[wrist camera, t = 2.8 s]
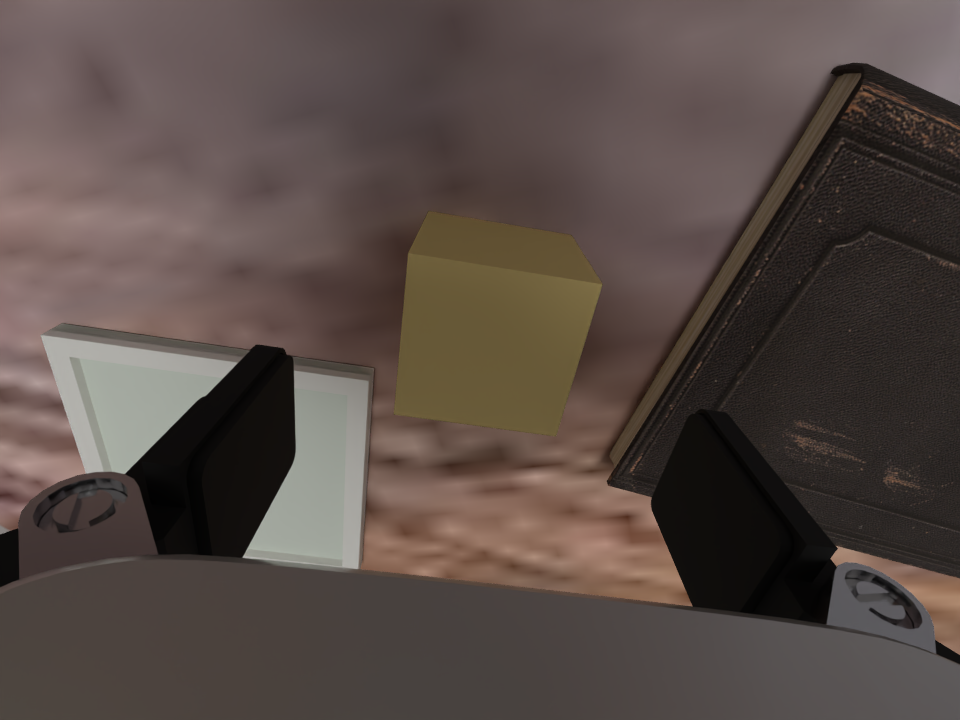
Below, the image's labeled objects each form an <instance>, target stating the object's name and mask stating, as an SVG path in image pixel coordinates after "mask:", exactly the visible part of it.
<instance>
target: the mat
mask: <svg viewBox="0 0 960 720" xmlns="http://www.w3.org/2000/svg"><path fill="white" fill-rule="evenodd" d="M41 338H42V341H43V344H44V347H45V350H46V353H47V356H48V359H49V362H50V365H51V368H52V371H53V374H54V377H55V380H56V383H57V386H58V389H59V392H60V396H61V399H62V402H63V405H64V408H65V411H66V414H67V417H68V420H69V423H70V426H71V429H72V432H73V435H74V438H75V441H76V444H77V447H78V450H79V453H80V456H81V459H82V462H83V465H84V468H85V471H86V474H88V473H93V472H116V473H122V474H125V473H126V472H127V471H128V470H129V469H130V468H131V467H132V466H133V465H134V464H135V463H136V462H137V461H138V460H139V459H140V458H141V457H142V456H143V455H144V454H145V453H146V452H147V451H148V450H149V449H150V448H151V447H152V446H153V445H154V444H155V443H156V442H157V441H158V440H159V439H160V438H161V437H162V436H163V435H164V434H165V433H166V432H167V431H168V430H169V429H170V428H171V427H172V426H173V425H174V424H175V423H176V422H177V421H178V420H179V419H180V418H181V417H182V416H183V415H184V414H185V413H186V412H187V411H188V409H189V408H190V407H191V406H192V405H193V404H194V403H195V402H196V401H197V400H199V399H200V398H201V397H204V396H206V395H207V394H208V393H209V392H210V391H211V390H212V389H213V388H214V387H215V386H216V385H217V384H218V383H219V382H220V381H221V380H222V379H223V378H224V377H225V376H226V375H227V374H228V373H229V372H230V371H231V370H232V369H233V367H234V366H235V365H236V364H237V363H238V362H239V361H240V360H241V359H242V358H243V357H244V356H245V355H246V354H247V353H248V352H249V351H250V350H244V349H237V348H230V347H223V346H216V345H209V344H202V343H195V342H188V341H181V340H174V339H167V338H160V337H153V336H146V335H139V334H132V333H125V332H118V331H111V330H105V329H98V328H91V327H84V326H77V325H70V324H63V323H62V324H60V325H58V326H56V327H54V328H52V329H51V330H49V331H47V332H45V333H43V334H41ZM292 357H293V356H292ZM293 361H294V395H295V435H296V453H295V458H294V462H293V465H292V467H291V469H290V470H289V472H288V474H287V476H286V478H285V480H284V482H283V483H282V485H281V487H280V489H279V491H278V493H277V495H276V496H275V498H274V500H273V502H272V504H271V506H270V508H269V509H268V511H267V513H266V515H265V517H264V519H263V521H262V522H261V524H260V526H259V528H258V530H257V532H256V534H255V535H254V537H253V539H252V541H251V543H250V545H249V547H248V548H247V550H246V552H245V554H244V556H243V558H250V559H263V560H274V561H284V562H294V563H304V564H315V565H325V566H334V567H344V568H353V569H360V568H361V564H362V557H363V540H364V524H365V508H366V492H367V475H368V459H369V443H370V426H371V410H372V394H373V378H374V368H370V367H363V366H356V365H349V364H342V363H335V362H328V361H321V360H314V359H307V358H300V357H293Z"/></svg>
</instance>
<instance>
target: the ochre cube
mask: <svg viewBox="0 0 960 720" xmlns="http://www.w3.org/2000/svg"><path fill="white" fill-rule="evenodd" d="M602 285H603V284H602V283H601V281H600V279H599V278H598V276H597V275H596V273H595V271H594V270H593V268H592V267H591V265H590V264H589V262H588V260H587V259H586V257H585V256H584V254H583V252H582V251H581V249H580V248H579V246H578V245H577V243H576V241H575V240H574V238H573V237H572V235H569V234H563V233H557V232H551V231H545V230H539V229H533V228H527V227H521V226H515V225H509V224H503V223H497V222H491V221H485V220H479V219H473V218H467V217H461V216H456V215H450V214H444V213H438V212H432V211H428V213H427V215H426V217H425V219H424V221H423V223H422V226H421V228H420V230H419V232H418V234H417V236H416V238H415V240H414V242H413V244H412V246H411V248H410V250H409V252H408V261H407V272H406V283H405V294H404V305H403V317H402V328H401V339H400V350H399V361H398V372H397V384H396V395H395V406H394V415H401V416H408V417H416V418H423V419H431V420H438V421H445V422H453V423H460V424H467V425H475V426H482V427H490V428H497V429H504V430H512V431H519V432H526V433H534V434H541V435H549V436H556V435H557V432H558V428H559V425H560V422H561V418H562V415H563V412H564V409H565V405H566V402H567V399H568V396H569V392H570V389H571V386H572V383H573V379H574V376H575V373H576V370H577V366H578V363H579V360H580V357H581V353H582V350H583V347H584V344H585V340H586V337H587V334H588V331H589V327H590V324H591V321H592V317H593V314H594V311H595V308H596V304H597V301H598V298H599V295H600V291H601V288H602Z"/></svg>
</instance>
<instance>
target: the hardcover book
mask: <svg viewBox="0 0 960 720" xmlns="http://www.w3.org/2000/svg"><path fill="white" fill-rule="evenodd" d="M831 74H833V75H836V76H838V78H837V80H836V81H835V83H834V85H833V86H832V88H831V90H830V91H829V93H828V95H827V96H826V98H825V100H824V101H823V103H822V104H821V106H820V108H819V109H818V111H817V113H816V114H815V116H814V118H813V119H812V121H811V123H810V124H809V126H808V128H807V129H806V131H805V132H804V134H803V136H802V137H801V139H800V141H799V142H798V144H797V146H796V147H795V149H794V151H793V152H792V154H791V155H790V157H789V159H788V160H787V162H786V164H785V165H784V167H783V169H782V170H781V172H780V174H779V175H778V177H777V179H776V180H775V182H774V183H773V185H772V187H771V188H770V190H769V192H768V193H767V195H766V197H765V198H764V200H763V202H762V203H761V205H760V206H759V208H758V210H757V211H756V213H755V215H754V216H753V218H752V220H751V221H750V223H749V225H748V226H747V228H746V230H745V231H744V233H743V234H742V236H741V238H740V239H739V241H738V243H737V244H736V246H735V248H734V249H733V251H732V253H731V254H730V256H729V257H728V259H727V261H726V262H725V264H724V266H723V267H722V269H721V271H720V272H719V274H718V276H717V277H716V279H715V281H714V282H713V284H712V285H711V287H710V289H709V290H708V292H707V294H706V295H705V297H704V299H703V300H702V302H701V304H700V305H699V307H698V308H697V310H696V312H695V313H694V315H693V317H692V318H691V320H690V322H689V323H688V325H687V327H686V328H685V330H684V332H683V333H682V335H681V336H680V338H679V340H678V341H677V343H676V345H675V346H674V348H673V350H672V351H671V353H670V355H669V356H668V358H667V360H666V361H665V363H664V364H663V366H662V368H661V369H660V371H659V373H658V374H657V376H656V378H655V379H654V381H653V383H652V384H651V386H650V388H649V389H648V391H647V393H646V394H645V396H644V397H643V399H642V401H641V402H640V404H639V406H638V407H637V409H636V411H635V412H634V414H633V416H632V417H631V419H630V421H629V422H628V424H627V425H626V427H625V429H624V430H623V432H622V434H621V435H620V437H619V439H618V440H617V442H616V444H615V445H614V447H613V449H612V450H611V452H610V458H611V460H612V462H613V464H614V470H613V472H612V474H611V475H610V477H609V478H608V480H607V483H608V486H612V487H616V488H619V489H623V490H627V491H631V492H635V493H638V494H642V495H646V496H650V497H652V496H653V493H654V491H655V489H656V487H657V484H658V482H659V480H660V478H661V475H662V473H663V471H664V469H665V466H666V464H667V462H668V460H669V458H670V455H671V453H672V451H673V449H674V446H675V444H676V442H677V440H678V437H679V435H680V433H681V431H682V428H683V426H684V424H685V422H686V420H687V418H688V416H689V415H690V414H695V413H696V411H698V410H699V409H707V410H714V411H721V412H726V413H727V414H728V415H729V416H730V417H731V418H732V419H733V421H734V422H735V423H736V424H737V426H738V427H739V428H740V429H741V431H742V432H743V433H744V434H745V435H746V437H747V438H748V439H749V440H750V442H751V443H752V444H753V445H754V446H755V448H756V449H757V450H758V451H759V453H760V454H761V455H762V456H763V458H764V459H765V460H766V461H767V462H768V464H769V465H770V466H771V467H772V469H773V470H774V471H775V472H776V473H777V475H778V476H779V477H780V478H781V480H782V481H783V482H784V483H785V485H786V486H787V487H788V488H789V489H790V491H791V492H792V493H793V494H794V496H795V497H796V498H797V499H798V500H799V502H800V503H801V504H802V505H803V507H804V508H805V509H806V510H807V512H808V513H809V514H810V515H811V516H812V518H813V519H814V520H815V521H816V523H817V524H818V525H819V526H820V527H821V529H822V530H823V531H824V532H825V534H826V535H827V536H828V537H829V539H830V540H831V541H832V542H833V543H834V545H835V546H839V547H843V548H847V549H851V550H854V551H858V552H862V553H866V554H870V555H873V556H877V557H881V558H885V559H889V560H892V561H896V562H900V563H904V564H907V565H911V566H915V567H919V568H923V569H926V570H930V571H934V572H938V573H942V574H945V575H949V576H953V577H957V578H960V106H959V105H957V104H955V103H952V102H950V101H948V100H946V99H944V98H941V97H939V96H937V95H935V94H933V93H930V92H928V91H926V90H924V89H922V88H919V87H917V86H915V85H913V84H910V83H908V82H906V81H904V80H902V79H899V78H897V77H895V76H893V75H891V74H888V73H886V72H884V71H882V70H880V69H877V68H875V67H873V66H871V65H869V64H863V63H850V64H846V65H841V66H838V67H836V68H834V69H833V70H832V72H831Z"/></svg>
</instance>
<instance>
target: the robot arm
mask: <svg viewBox="0 0 960 720" xmlns="http://www.w3.org/2000/svg"><path fill="white" fill-rule="evenodd" d="M295 453H296V435H295V395H294V361H293V357H292V356H289V355H286V352H285V350H284V349H283V348H278V347H271V346H264V345H255V346H254V347H253V348H252V349H251V350H250V351H249V352H248V353H247V354H246V355H245V356H244V357H243V358H242V359H241V360H240V361H239V362H238V363H237V364H236V365H235V366H234V367H233V369H232V370H231V371H230V372H229V373H228V374H227V375H226V376H225V377H224V378H223V379H222V380H221V381H220V382H219V383H218V384H217V385H216V386H215V387H214V388H213V389H212V390H211V391H210V392H209V393H208V394H207V395H206V396H204V397H201V398H200V399H199V400H197V401H196V402H195V403H194V404H193V405H192V406H191V407H190V408H189V409H188V411H187V412H186V413H185V414H184V415H183V416H182V417H181V418H180V419H179V420H178V421H177V422H176V423H175V424H174V425H173V426H172V427H171V428H170V429H169V430H168V431H167V432H166V433H165V434H164V435H163V436H162V437H161V438H160V439H159V440H158V441H157V442H156V443H155V444H154V445H153V446H152V447H151V448H150V449H149V450H148V451H147V452H146V453H145V454H144V455H143V456H142V457H141V458H140V459H139V460H138V461H137V462H136V463H135V464H134V465H133V466H132V467H131V468H130V469H129V470H128V471H127V472H126V473H125V474H122V473H116V472H93V473H88V474H82V475H77V476H75V477H72V478H69V479H66V480H63V481H60V482H58V483H56V484H54V485H52V486H51V487H49V488H47V489H45V490H43V491H42V492H41V493H39V494H38V495H37V496H35V497H34V498H33V499H31V500H30V501H29V503H28V504H27V505H26V506H25V508H24V509H23V510H22V511H21V515H20V518H19V522H18V529H15V530H12V531H9V532H6V533H4V534H0V720H960V655H959V654H957V653H955V652H954V651H952V650H951V649H949V648H947V647H946V646H944V645H942V644H941V643H939V642H938V641H936V640H935V635H934V626H933V623H932V620H931V617H930V615H929V613H928V612H927V611H926V609H925V608H924V606H923V605H922V604H921V603H920V602H919V601H918V600H917V598H916V597H915V596H914V595H913V594H912V593H911V592H909V591H908V590H907V589H906V588H904V587H903V586H902V585H901V584H899V583H898V582H897V581H895V580H893V579H892V578H890V577H888V576H887V575H885V574H884V573H882V572H880V571H877V570H875V569H873V568H871V567H869V566H865V565H862V564H858V563H848V562H845V563H843V564H840V565H838V566H837V567H836V565H835V564H834V563H833V562H832V560H831V559H830V558H831V557H832V555H833V554H834V553H835V551H836V550H837V549H838V548H837V547H836V546H835V545H834V543H833V542H832V541H831V540H830V539H829V537H828V536H827V535H826V534H825V532H824V531H823V530H822V529H821V527H820V526H819V525H818V524H817V523H816V521H815V520H814V519H813V518H812V516H811V515H810V514H809V513H808V512H807V510H806V509H805V508H804V507H803V505H802V504H801V503H800V502H799V500H798V499H797V498H796V497H795V496H794V494H793V493H792V492H791V491H790V489H789V488H788V487H787V486H786V485H785V483H784V482H783V481H782V480H781V478H780V477H779V476H778V475H777V473H776V472H775V471H774V470H773V469H772V467H771V466H770V465H769V464H768V462H767V461H766V460H765V459H764V458H763V456H762V455H761V454H760V453H759V451H758V450H757V449H756V448H755V446H754V445H753V444H752V443H751V442H750V440H749V439H748V438H747V437H746V435H745V434H744V433H743V432H742V431H741V429H740V428H739V427H738V426H737V424H736V423H735V422H734V421H733V419H732V418H731V417H730V416H729V415H728V414H727V413H726V412H721V411H714V410H707V409H699V410H698V411H696V413H695V414H690V415H689V416H688V418H687V420H686V422H685V424H684V426H683V428H682V431H681V433H680V435H679V437H678V440H677V442H676V444H675V446H674V449H673V451H672V453H671V455H670V458H669V460H668V462H667V464H666V466H665V469H664V471H663V473H662V475H661V478H660V480H659V482H658V484H657V487H656V489H655V491H654V493H653V496H652V500H651V507H652V512H653V514H654V516H655V519H656V521H657V523H658V526H659V528H660V531H661V533H662V535H663V538H664V540H665V542H666V545H667V547H668V549H669V552H670V554H671V556H672V559H673V561H674V563H675V566H676V568H677V570H678V573H679V575H680V577H681V580H682V582H683V584H684V587H685V589H686V592H687V594H688V596H689V599H690V601H691V603H692V606H693V607H692V606H683V605H675V604H666V603H658V602H649V601H641V600H633V599H624V598H616V597H607V596H598V595H590V594H581V593H572V592H563V591H554V590H546V589H537V588H528V587H519V586H510V585H501V584H492V583H483V582H474V581H465V580H456V579H447V578H437V577H428V576H419V575H409V574H400V573H391V572H381V571H372V570H362V569H353V568H344V567H334V566H325V565H315V564H304V563H294V562H284V561H274V560H263V559H250V558H243V556H244V554H245V552H246V550H247V548H248V547H249V545H250V543H251V541H252V539H253V537H254V535H255V534H256V532H257V530H258V528H259V526H260V524H261V522H262V521H263V519H264V517H265V515H266V513H267V511H268V509H269V508H270V506H271V504H272V502H273V500H274V498H275V496H276V495H277V493H278V491H279V489H280V487H281V485H282V483H283V482H284V480H285V478H286V476H287V474H288V472H289V470H290V469H291V467H292V465H293V462H294V458H295Z"/></svg>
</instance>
